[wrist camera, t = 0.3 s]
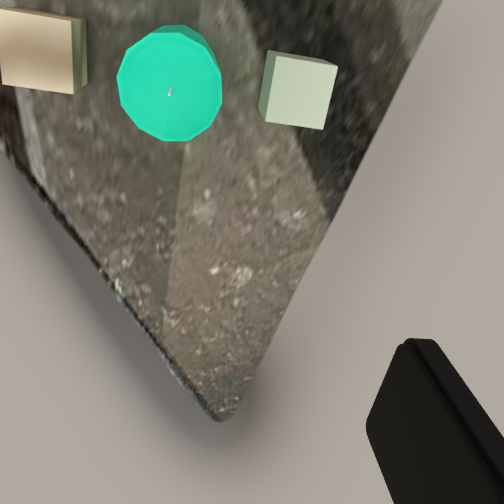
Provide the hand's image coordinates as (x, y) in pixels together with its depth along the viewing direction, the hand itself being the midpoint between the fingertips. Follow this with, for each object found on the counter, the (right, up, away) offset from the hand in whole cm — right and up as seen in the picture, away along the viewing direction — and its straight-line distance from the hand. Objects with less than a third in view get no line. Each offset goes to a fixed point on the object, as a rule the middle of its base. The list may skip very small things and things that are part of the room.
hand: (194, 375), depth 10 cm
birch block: (-13, +18, +22) cm, 32 cm away
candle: (-5, +17, +24) cm, 30 cm away
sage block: (+4, +16, +26) cm, 31 cm away
